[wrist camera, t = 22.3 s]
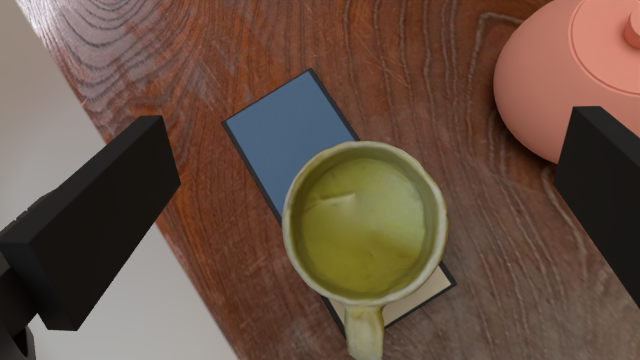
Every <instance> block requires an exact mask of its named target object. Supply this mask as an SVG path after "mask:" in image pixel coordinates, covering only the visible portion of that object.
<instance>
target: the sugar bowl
mask: <svg viewBox="0 0 640 360" xmlns="http://www.w3.org/2000/svg"><path fill="white" fill-rule="evenodd" d="M493 89H494V96H495V101H496V105H497V108H498V111H499V113H500V116H501V118H502V120H503V122H504V123H505V125H506V126H507V128H508V129H509V131H510V132H511V133H512V134H513V135H514V137H515V138H516V139H517V140H518V141H519V142H521V143H522V144H523V145H524V146H525V147H526V148H528V149H529V150H530V151H532V152H533V153H535V154H537V155H539V156H540V157H542V158H544V159H546V160H548V161H551V162H553V163H556V164H558V161H559V158H560V154H561V150H562V146H563V142H564V139H565V135H566V131H567V127H568V124H569V120H570V116H571V112H572V108H573V106H601V107H602V108H603V109H605V110H606V111H607V112H608V113H610V114H611V115H612V116H613V117H615V118H616V119H617V120H618V121H619V122H621V123H622V124H623V125H624V126H626V127H627V128H628V129H629V130H631V131H632V132H633V133H634V134H636V135H637V136H638V137H639V138H640V0H554V1H552V2H550V3H548V4H547V5H545V6H544V7H542V8H540V9H539V10H538V11H536V12H535V13H534V14H533V15H531V16H530V17H529V18H528V19H527V20H525V21H524V22H523V23H522V24H521V25H520V26H519V27H518V28H517V30H516V31H515V32H514V33H513V34H512V35H511V37H510V38H509V40H508V41H507V43H506V44H505V46H504V47H503V49H502V51H501V53H500V55H499V57H498V60H497V63H496V66H495V71H494V78H493Z"/></svg>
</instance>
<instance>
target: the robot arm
mask: <svg viewBox="0 0 640 360" xmlns="http://www.w3.org/2000/svg"><path fill="white" fill-rule="evenodd" d="M180 185H181V182H180V178H179V175H178V171H177V168H176V164H175V160H174V157H173V153H172V150H171V146H170V142H169V139H168V135H167V132H166V128H165V124H164V121H163V117H162V115H154V116H140V117H139V118H138V119H136V120H135V121H134V122H133V123H132V124H131V125H129V126H128V127H127V128H126V129H125V130H124V131H123V132H121V133H120V134H119V135H118V136H117V137H116V138H114V139H113V140H112V141H111V142H110V143H109V144H107V145H106V146H105V147H104V148H103V149H102V150H101V151H99V152H98V153H97V154H96V155H95V156H94V157H92V158H91V159H90V160H89V161H88V162H87V163H85V164H84V165H83V166H82V167H81V168H80V169H79V170H77V171H76V172H75V173H74V174H73V175H72V176H71V177H69V178H68V179H67V180H66V181H65V182H64V183H62V184H61V185H60V186H59V187H58V188H56V189H55V190H53V191H51V192H49V193H47V194H46V195H44V196H42V197H40V198H39V199H38V200H37V201H36V202H35V203H33V204H32V205H31V206H30V207H29V208H28V210H27V211H24V212H23V213H22V214H21V215H19V216H18V217H17V218H16V219H17V220H16V221H15V220H14V221H12V222H11V223H10V224H9V225H8V226H6V227H5V228H4V229H3V230H2V231H0V360H36V355H35V346H34V338H33V334H32V333H31V331H30V329H29V327H28V326H27V325H28V323H29V322H30V321H31V320H32V319H33V318H34V316H35V315H36V314H37V313H38V314H39V316H40V318H41V319H42V321H43V322H44V324H45V326H46V328H47V329H48V330H65V331H77V330H78V329H79V327H80V326H81V325H82V323H83V322H84V320H85V319H86V317H87V316H88V315H89V313H90V312H91V311H92V309H93V308H94V306H95V305H96V303H97V302H98V300H99V299H100V298H101V296H102V295H103V294H104V292H105V291H106V289H107V288H108V287H109V285H110V284H111V282H112V281H113V279H114V278H115V276H116V275H117V274H118V272H119V271H120V270H121V268H122V267H123V265H124V264H125V262H126V261H127V260H128V258H129V257H130V255H131V254H132V253H133V251H134V250H135V248H136V247H137V245H138V244H139V243H140V241H141V240H142V238H143V237H144V236H145V234H146V233H147V231H148V230H149V229H150V227H151V226H152V224H153V223H154V222H155V220H156V219H157V217H158V216H159V215H160V213H161V212H162V210H163V209H164V207H165V206H166V205H167V203H168V202H169V200H170V199H171V198H172V196H173V195H174V193H175V192H176V191H177V189H178V188H179V186H180ZM553 185H554V186H555V188H556V189H557V190H558V192H559V193H560V195H561V196H562V198H563V199H564V201H565V202H566V203H567V205H568V206H569V208H570V209H571V211H572V212H573V213H574V215H575V216H576V218H577V219H578V221H579V222H580V224H581V225H582V226H583V228H584V229H585V231H586V232H587V234H588V235H589V237H590V238H591V239H592V241H593V242H594V244H595V245H596V247H597V248H598V250H599V251H600V252H601V254H602V255H603V257H604V258H605V260H606V261H607V263H608V264H609V265H610V267H611V268H612V270H613V271H614V273H615V274H616V276H617V277H618V278H619V280H620V281H621V283H622V284H623V286H624V287H625V288H626V290H627V291H628V293H629V294H630V296H631V297H632V299H633V300H634V301H635V303H636V304H637V306H638V307H639V309H640V138H639V137H638V136H637V135H636V134H634V133H633V132H632V131H631V130H629V129H628V128H627V127H626V126H624V125H623V124H622V123H621V122H619V121H618V120H617V119H616V118H615V117H613V116H612V115H611V114H610V113H608V112H607V111H606V110H605V109H603V108H602V107H601V106H573V108H572V112H571V116H570V120H569V124H568V127H567V131H566V135H565V139H564V142H563V146H562V150H561V154H560V158H559V161H558V165H557V169H556V173H555V177H554V180H553Z"/></svg>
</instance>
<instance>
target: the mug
mask: <svg viewBox="0 0 640 360" xmlns="http://www.w3.org/2000/svg"><path fill="white" fill-rule="evenodd" d="M448 228H449V220H448V209H447V205H446V201H445V199H444V197H443V195H442V193H441V191H440V189H439V187H438V185H437V184H436V183H435V182H434V180H433V179H432V178H431V177H430V175H429V174H428V173H427V172H426V171H425V169H424V168H423V167H422V166H421V165H420V163H419V162H418V161H417V160H416V159H414V158H413V157H412V156H410V155H409V154H408V153H406V152H404V151H403V150H401V149H398V148H396V147H393V146H390V145H388V144H386V143H381V142H372V141H355V142H354V141H347V142H344V143H340V144H338V145H335V146H333V147H330V148H326V149H324V150H322V151H320V152H318V153H317V154H315V155H314V156H313V157H312V158H311V159H309V160H308V161H307V162H306V163H305V164H304V165H303V166H302V168H301V169H300V170H299V171H298V173H297V174H296V176H295V178H294V179H293V181H292V184H291V186H290V188H289V190H288V192H287V194H286V198H285V203H284V207H283V212H282V231H283V240H284V245H285V249H286V252H287V255H288V257H289V260H290V262H291V263H292V265H293V266H294V268H295V269H296V271H297V272H298V274H299V275H300V276H301V278H302V279H303V280H304V281H305V282H306V284H307V285H308V286H310V287H311V288H312V289H314V290H315V291H316V292H318V293H319V294H321V295H323V296H325V297H327V298H330V299H332V300H334V301H336V302H338V303H340V304H341V305H343V307H344V308H345V314H344V326H345V333H346V339H347V351H348V353H349V354H350V355H351V356H352V357H353V358H354V359H356V360H382V354H383V343H384V319H383V316H382V311H383V308H384V307H385V305H387V304H389V303H392V302H396V301H398V300H401V299H403V298H406V297H408V296H410V295H411V294H413V293H415V292H416V291H417V290H418V289H419V288H420V287H421V286H422V285H423V284H424V283H425V282H426V281H427V280H428V279H429V278H430V276H431V275H432V274H433V273H434V271H435V270H436V268H437V266H438V265H439V263H440V261H441V260H442V258H443V254H444V251H445V247H446V243H447V239H448Z"/></svg>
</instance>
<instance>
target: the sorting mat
mask: <svg viewBox="0 0 640 360" xmlns="http://www.w3.org/2000/svg"><path fill="white" fill-rule="evenodd" d="M222 125H223V127H224V128H225V130H226V132H227V134H228V135H229V137H230V139H231V140H232V142H233V144H234V146H235V147H236V149H237V151H238V153H239V154H240V156H241V158H242V160H243V161H244V163H245V165H246V167H247V168H248V170H249V172H250V174H251V175H252V177H253V179H254V181H255V182H256V184H257V186H258V187H259V189H260V191H261V193H262V194H263V196H264V198H265V200H266V201H267V203H268V205H269V207H270V208H271V210H272V212H273V214H274V215H275V217H276V219H277V221H278V222H279V224H280V226H281V228H282V212H283V207H284V203H285V198H286V194H287V192H288V190H289V188H290V186H291V184H292V181H293V179H294V178H295V176H296V174H297V173H298V171H299V170H300V169H301V168H302V166H303V165H304V164H305V163H306V162H307V161H308V160H309V159H311V158H312V157H313V156H314V155H315V154H317V153H318V152H320V151H322V150H324V149H326V148H330V147H333V146H335V145H338V144H340V143H344V142H347V141H354V142H355V141H361V140H360V139H359V138H358V136H357V135H356V133H355V132H354V130H353V129H352V127H351V126H350V124H349V123H348V121H347V120H346V118H345V117H344V115H343V114H342V112H341V111H340V109H339V108H338V106H337V105H336V103H335V102H334V100H333V99H332V97H331V96H330V95H329V93H328V92H327V90H326V89H325V87H324V86H323V84H322V83H321V81H320V80H319V78H318V77H317V75H316V74H315V72H314V71H313V69H312V68H310V69H308V70H307V71H305V72H303V73H302V74H300V75H298V76H297V77H295V78H293V79H292V80H290V81H288V82H287V83H285V84H284V85H282V86H280V87H279V88H277V89H275V90H274V91H272V92H270V93H269V94H267V95H265V96H264V97H262V98H260V99H259V100H257V101H256V102H254V103H252V104H251V105H249V106H247V107H246V108H244V109H242V110H241V111H239V112H237V113H236V114H234V115H233V116H231V117H229V118H228V119H226V120H224V121H223V122H222ZM438 266H439V267H440V269H441V270H442V272H443V273H444V275H445V276H446V278H447V279H448V281H449V282H450V284H451V285H449V286H448V287H446V288H445V289H443V290H442V291H440V292H438V293H437V294H435V295H434V296H432V297H430V298H429V299H427V300H426V301H424V302H422V303H421V304H419V305H418V306H416V307H414V308H413V309H411V310H410V311H408V312H406V313H405V314H403V315H402V316H400V317H398V318H397V319H395V320H394V321H392V322H390V323H389V324H387V325H386V326H384V330H385V329H386V328H388V327H389V326H391V325H393V324H394V323H396V322H397V321H399V320H401V319H402V318H404V317H405V316H407V315H409V314H410V313H412V312H413V311H415V310H417V309H418V308H420V307H421V306H423V305H425V304H426V303H428V302H429V301H431V300H432V299H434V298H436V297H437V296H439V295H440V294H442V293H444V292H445V291H447V290H448V289H450V288H452V287H453V286H455V285H456V284H457V283H456V281H455V280H454V278H453V277H452V275H451V274H450V272H449V271H448V269H447V268H446V266H445V265H444V264H443V262H442V261H440V263H439V265H438ZM320 295H321V294H320ZM321 297H322V299H323V301H324V302H325V304H326V306H327V308H328V309H329V311H330V313H331V315H332V316H333V318H334V320H335V322H336V323H337V325H338V327H339V329H340V330H341V332H342V334H343V336H344V337H345V339H346V333H345V326H344V325H343V323H342V321H341V319H340V318H339V316H338V314H337V312H336V311H335V309H334V307H333V306H332V304H331V302H330V300H329V299H328V298H327V297H325V296H323V295H321ZM346 341H347V339H346Z"/></svg>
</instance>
